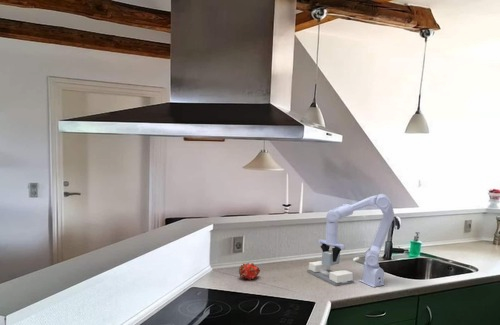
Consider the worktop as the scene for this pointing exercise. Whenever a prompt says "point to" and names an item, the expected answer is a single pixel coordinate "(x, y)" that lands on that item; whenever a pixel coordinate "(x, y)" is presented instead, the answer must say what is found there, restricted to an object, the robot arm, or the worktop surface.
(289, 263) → the worktop surface
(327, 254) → the block
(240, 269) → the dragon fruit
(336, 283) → the rail board
